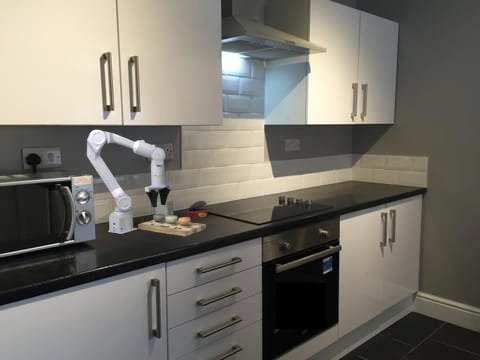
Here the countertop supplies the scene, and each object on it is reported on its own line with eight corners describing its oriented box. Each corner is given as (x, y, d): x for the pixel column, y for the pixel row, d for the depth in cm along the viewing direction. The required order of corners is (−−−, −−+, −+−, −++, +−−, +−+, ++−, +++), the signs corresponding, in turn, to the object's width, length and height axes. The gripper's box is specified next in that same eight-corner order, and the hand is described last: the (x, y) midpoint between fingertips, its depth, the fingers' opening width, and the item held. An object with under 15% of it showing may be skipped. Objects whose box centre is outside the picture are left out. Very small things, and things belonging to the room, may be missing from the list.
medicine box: (173, 217, 205) (173, 200, 204) (167, 219, 201) (167, 201, 200) (161, 216, 209) (160, 198, 208) (155, 217, 205) (154, 200, 204)
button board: (185, 236, 170) (185, 230, 170) (138, 228, 183) (137, 223, 183) (205, 229, 182) (205, 223, 182) (159, 222, 195) (159, 217, 195)
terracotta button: (185, 224, 175) (185, 220, 175) (176, 223, 178) (176, 218, 177) (192, 222, 179) (192, 217, 179) (183, 221, 182) (183, 216, 182)
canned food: (191, 227, 205) (181, 210, 203) (194, 220, 215) (184, 204, 213) (211, 217, 203) (201, 199, 201) (213, 210, 213) (203, 193, 211)
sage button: (172, 223, 179) (172, 218, 178) (163, 221, 181) (163, 217, 181) (179, 220, 183) (179, 216, 183) (170, 219, 186) (170, 215, 185)
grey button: (159, 221, 182) (159, 216, 182) (151, 220, 185) (150, 215, 185) (167, 219, 187) (167, 214, 186) (158, 217, 189) (158, 213, 189)
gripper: (153, 177, 175) (154, 209, 177) (175, 173, 187) (176, 204, 189) (140, 176, 179) (141, 208, 180) (163, 173, 191) (164, 202, 193)
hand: (158, 206), depth 185 cm, fingers open, 5 cm apart
